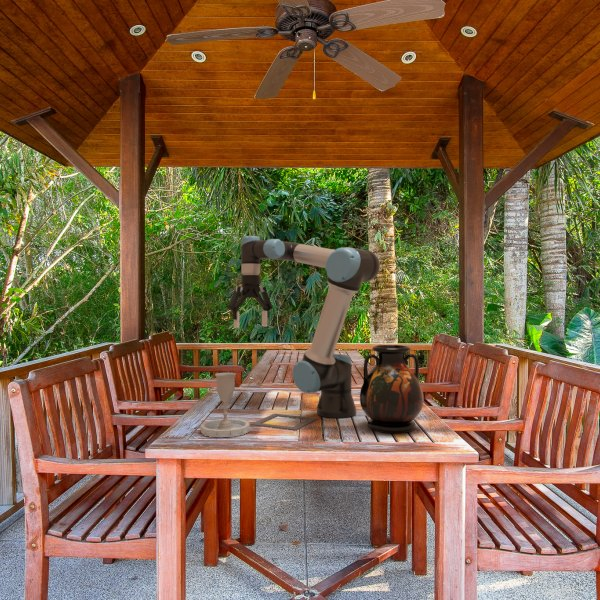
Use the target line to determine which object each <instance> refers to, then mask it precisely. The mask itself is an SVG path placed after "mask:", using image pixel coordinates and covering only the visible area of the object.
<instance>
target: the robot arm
mask: <svg viewBox="0 0 600 600" xmlns="http://www.w3.org/2000/svg"><path fill="white" fill-rule="evenodd" d="M260 239H261V238H260V237H259V236H256V235H244V236H243V237H242V238H241V246H240V248H241V249H240V250H241V251H240V254H241V263H240V264H241V266H240V267H241V278H240V279H241V282H240V283H241V286H235V287H234V292H233V294H232V297H231V298H230V299H231V300H230V301H229V304H228V306H227V310H229V311H230V312H231V314H232V315H231V316H232V320H233V328H234V329H240V311H239V309H240V308H241V306H242V305H243V304H244V302H245V300H246V299H247V298H249V299H250V298H251V299H252V298H254V299H255V300H256V301H257V302H258V304H259V305H260V306H261V308H262V309H263V310H262V311H261V327H265V328H267V327H268V319H269V318H270V317H269V314H270V313H269V312H270V311H271V310H273V304H272V302H271V299H270V297H269V295H268V292H267V286H260V284H261V276H260V275H259V274H261V260H278V261H288V262H289V261H290V262H294V263H301V264H306V265H308V266H309V265H310V266H314V267H320V268H322V269H323V268H324V269H325V270H326V275H327V280H326V282H327V284H328V286H329V288H328V291H327V295H326V297H325V300H324V303H323V306H322V309H321V314H320V316H319V319H318V322H317V326H316V329H315V331H314V332H315V333H314V335H313V338H312V342H311V345H310V348H308V349H306V350H305V351H304V353H303V357H302V359H301V360H299V361H297V362H296V363H295V364H294V365H293V368H292V375H291V376H292V379H293V381H294V384H295V386H296V387H297V389H298V390H300V392H303V393H306V394H310V393H313V394H314V393H317V392H320V396H319V399H318V403H317V405H316V414H317V415H318V416H319V417H323V418H324V417H325V418H330V419H331V418H332V419H334V418H335V419H342V418H350V417H351V418H352V417H354V416H356V415H357V406H356V404H355V400H354V398H353V394H352V366H353V365H352V357H351V356H350V355H348V354H340V353H339V354H338V353H335V351H336V348H337V344H338V342H339V339H340V335H341V332H342V330H343V327H344V323H345V319H346V317H347V314H348V312H349V308H350V305H351V302H352V299H353V295H355V294H356V293H358V292H359V291H360V289H361V286H362V283H368V282H370V281H372V280H374V279H375V278H376V277H377V276H378V274H379V273H380V272H379V271H380V268H381V262H380V260H379V257H378V256H377V255H376V253H374V251H373V252H372V251H371V250H368V249H363V248H361V249H360V248H354V247H350V246H348V247H338V248H336V249H331V248H326V247H321V246H315V245H310V244H309V245H308V244H304V243H298V242H291V241H283V240H281V239H279V238H270V239H263V240H260Z"/></svg>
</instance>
